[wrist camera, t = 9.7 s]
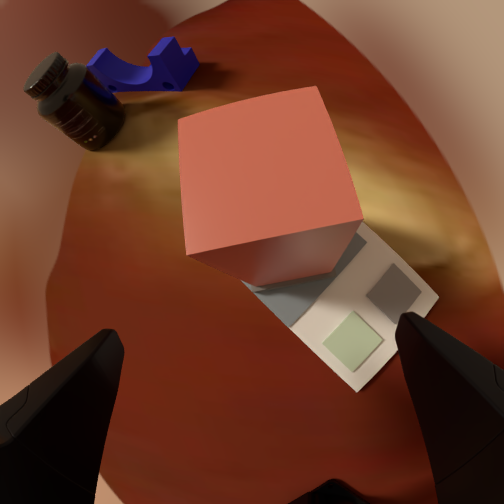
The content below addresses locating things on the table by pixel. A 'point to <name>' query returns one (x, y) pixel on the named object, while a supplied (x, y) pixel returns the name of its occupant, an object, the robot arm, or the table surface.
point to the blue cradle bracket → (147, 69)
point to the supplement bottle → (75, 102)
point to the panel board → (354, 307)
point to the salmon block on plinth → (267, 190)
